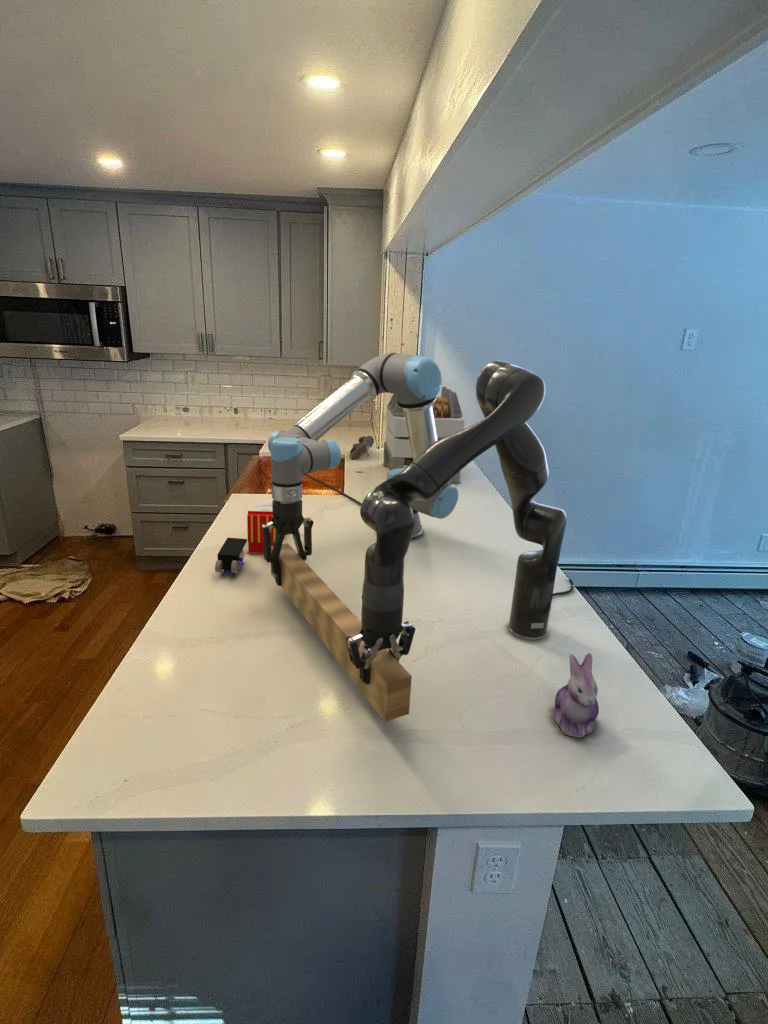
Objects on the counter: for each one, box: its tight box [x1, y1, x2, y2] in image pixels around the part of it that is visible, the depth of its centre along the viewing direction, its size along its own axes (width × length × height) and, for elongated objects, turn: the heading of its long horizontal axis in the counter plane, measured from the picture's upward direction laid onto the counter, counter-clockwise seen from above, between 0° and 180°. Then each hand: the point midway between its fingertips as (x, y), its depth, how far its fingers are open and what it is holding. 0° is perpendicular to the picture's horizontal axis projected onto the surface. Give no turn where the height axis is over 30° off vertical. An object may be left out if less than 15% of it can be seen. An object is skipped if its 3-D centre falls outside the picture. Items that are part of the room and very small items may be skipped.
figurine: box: [553, 652, 600, 738], centre depth 108 cm, size 9×10×15 cm
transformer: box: [383, 386, 465, 484], centre depth 268 cm, size 34×33×41 cm
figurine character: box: [214, 537, 248, 578], centre depth 166 cm, size 7×8×15 cm
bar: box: [270, 543, 412, 723], centre depth 129 cm, size 66×5×8 cm, turn 29°
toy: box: [246, 500, 276, 554], centre depth 190 cm, size 12×13×30 cm
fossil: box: [349, 435, 375, 460], centre depth 301 cm, size 22×10×15 cm
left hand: (288, 581), depth 151 cm, fingers closed on bar, 5 cm apart
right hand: (379, 677), depth 109 cm, fingers closed on bar, 5 cm apart
